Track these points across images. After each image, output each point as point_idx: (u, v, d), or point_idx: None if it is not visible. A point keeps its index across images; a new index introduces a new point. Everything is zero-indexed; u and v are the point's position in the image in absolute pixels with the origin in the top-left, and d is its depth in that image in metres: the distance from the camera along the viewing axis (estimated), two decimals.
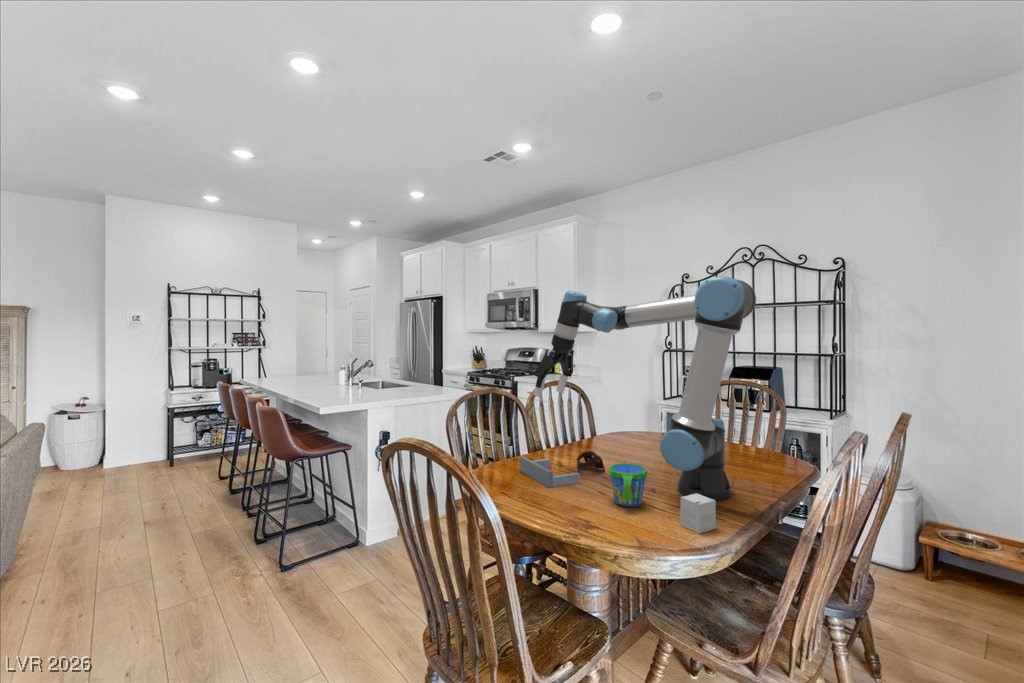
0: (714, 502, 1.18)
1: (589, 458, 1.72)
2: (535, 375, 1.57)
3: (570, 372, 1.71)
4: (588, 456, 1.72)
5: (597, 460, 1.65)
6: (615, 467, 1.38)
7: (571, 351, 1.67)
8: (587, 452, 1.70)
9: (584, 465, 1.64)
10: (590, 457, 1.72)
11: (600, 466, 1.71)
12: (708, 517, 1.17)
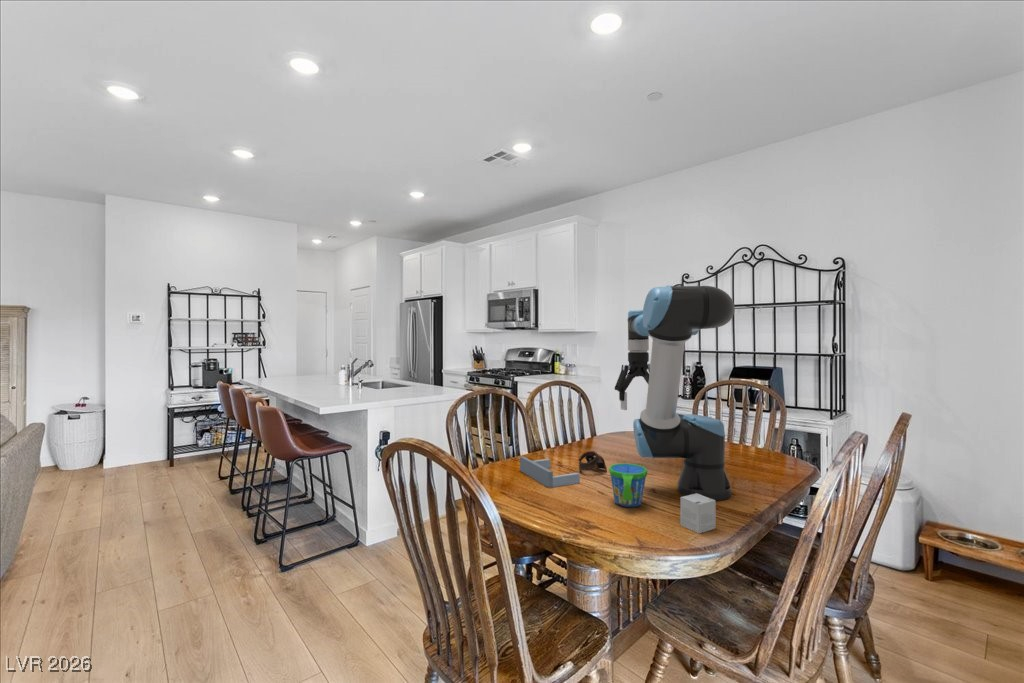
0: (714, 502, 1.18)
1: (591, 458, 1.72)
2: (615, 389, 1.75)
3: None
4: (590, 456, 1.71)
5: (599, 460, 1.65)
6: (615, 467, 1.38)
7: None
8: (589, 452, 1.69)
9: (586, 465, 1.64)
10: (592, 457, 1.72)
11: (602, 466, 1.70)
12: (708, 517, 1.17)
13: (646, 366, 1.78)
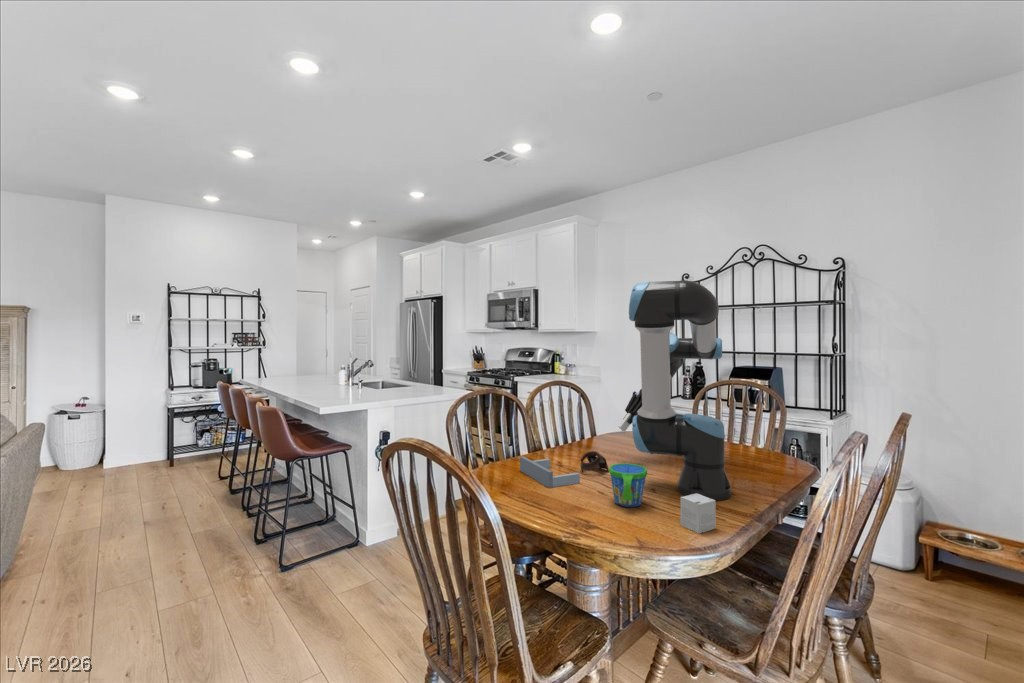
0: (714, 502, 1.18)
1: (593, 458, 1.72)
2: None
3: (636, 412, 1.75)
4: (592, 456, 1.71)
5: (601, 460, 1.65)
6: (615, 467, 1.38)
7: None
8: (591, 452, 1.69)
9: (588, 465, 1.64)
10: (594, 457, 1.72)
11: (604, 466, 1.70)
12: (708, 517, 1.17)
13: None
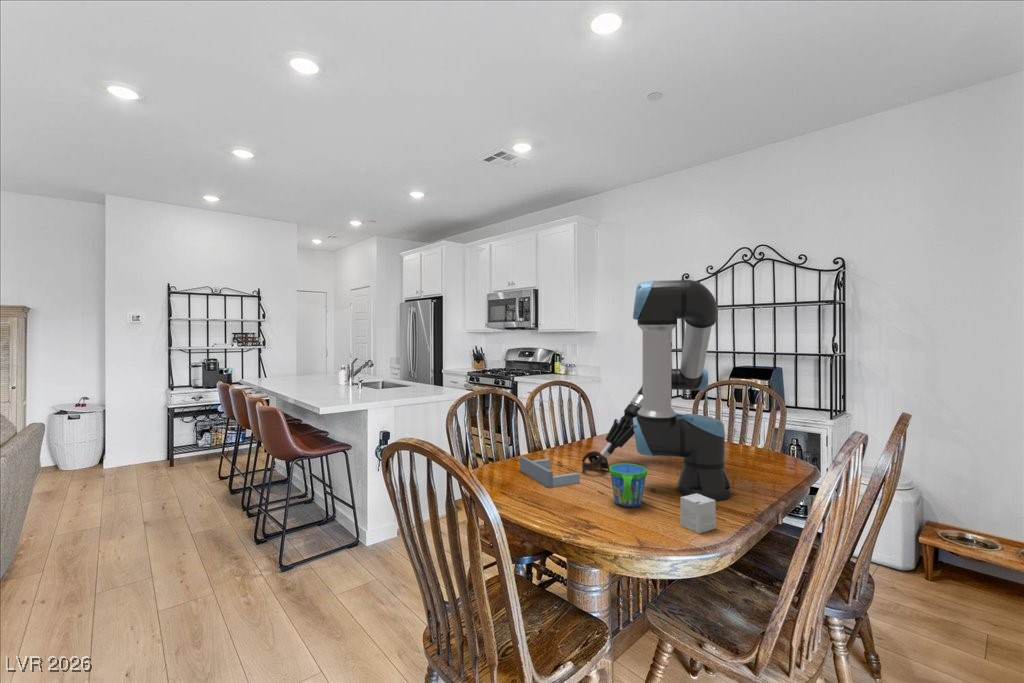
0: (714, 502, 1.18)
1: (594, 458, 1.71)
2: None
3: (616, 442, 1.73)
4: (593, 456, 1.71)
5: (603, 460, 1.64)
6: (615, 467, 1.38)
7: None
8: (592, 452, 1.69)
9: (590, 465, 1.64)
10: (595, 457, 1.71)
11: (605, 466, 1.70)
12: (708, 517, 1.17)
13: (632, 420, 1.75)
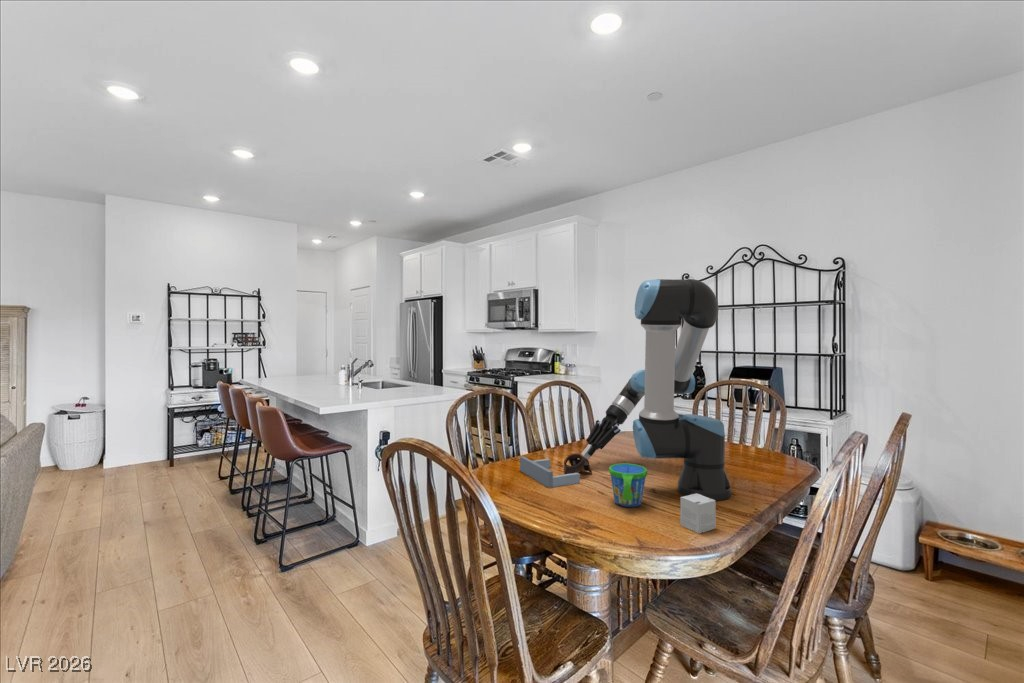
0: (714, 502, 1.18)
1: (574, 461, 1.68)
2: None
3: (596, 443, 1.70)
4: (574, 459, 1.68)
5: (585, 462, 1.62)
6: (615, 467, 1.38)
7: None
8: (574, 455, 1.66)
9: (573, 468, 1.60)
10: (575, 460, 1.68)
11: (586, 468, 1.68)
12: (708, 517, 1.17)
13: (613, 421, 1.72)
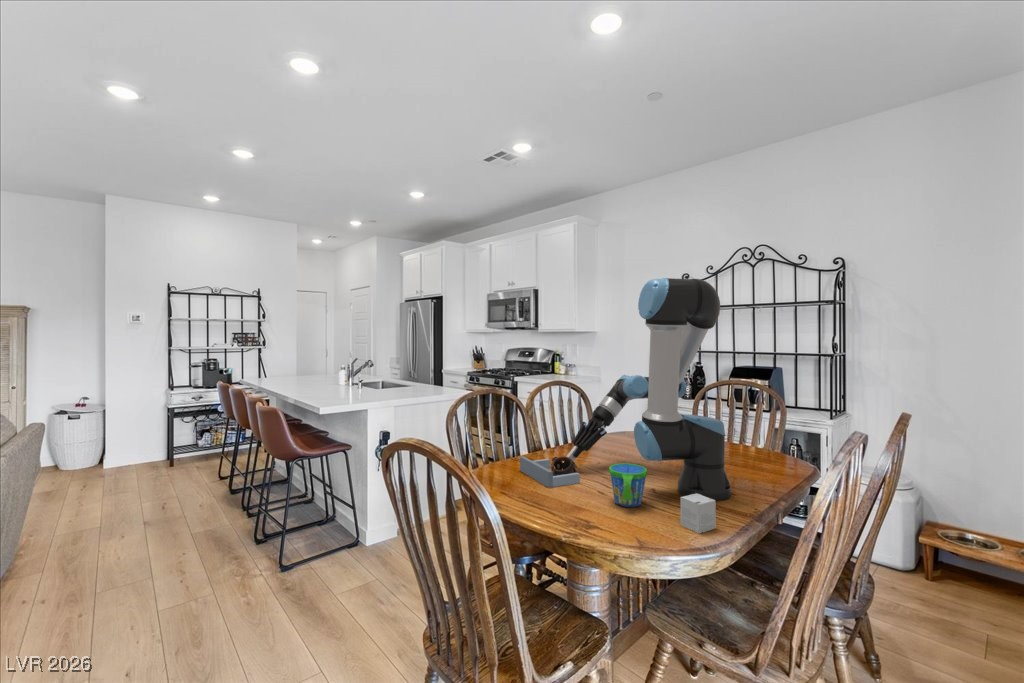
0: (714, 502, 1.18)
1: (559, 464, 1.64)
2: None
3: (582, 445, 1.66)
4: (558, 462, 1.63)
5: (574, 465, 1.58)
6: (615, 467, 1.38)
7: None
8: (560, 458, 1.61)
9: (563, 472, 1.56)
10: (560, 463, 1.64)
11: None
12: (708, 517, 1.17)
13: (600, 423, 1.68)
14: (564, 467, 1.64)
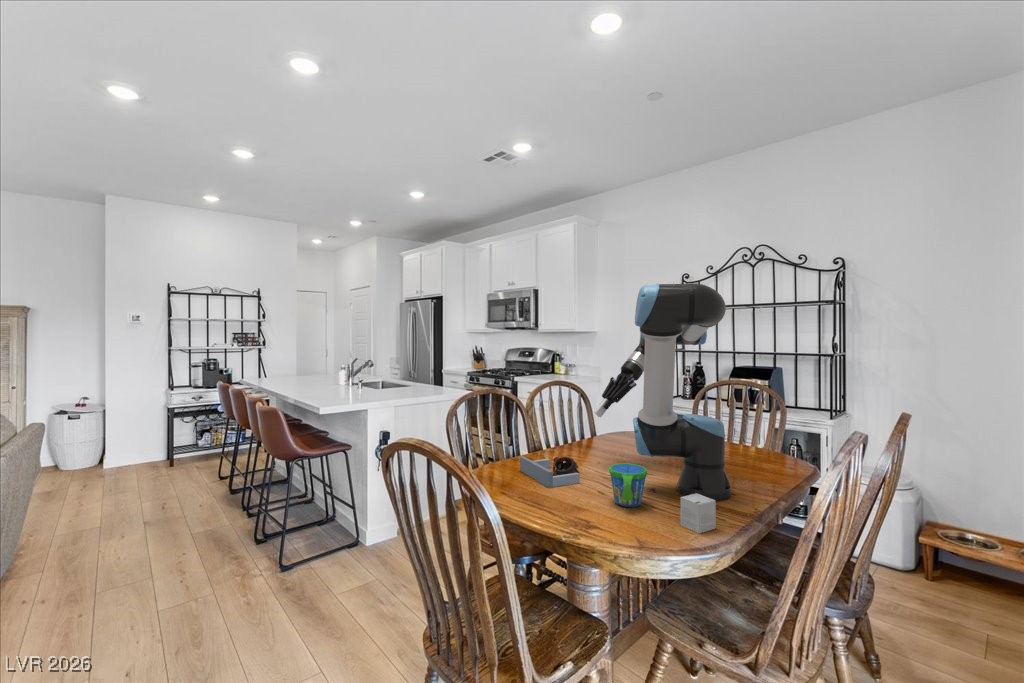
0: (714, 502, 1.18)
1: (560, 464, 1.64)
2: None
3: None
4: (560, 462, 1.64)
5: (576, 465, 1.58)
6: (615, 467, 1.38)
7: None
8: (561, 458, 1.61)
9: (565, 472, 1.56)
10: (561, 463, 1.64)
11: None
12: (708, 517, 1.17)
13: (629, 376, 1.72)
14: (565, 467, 1.65)
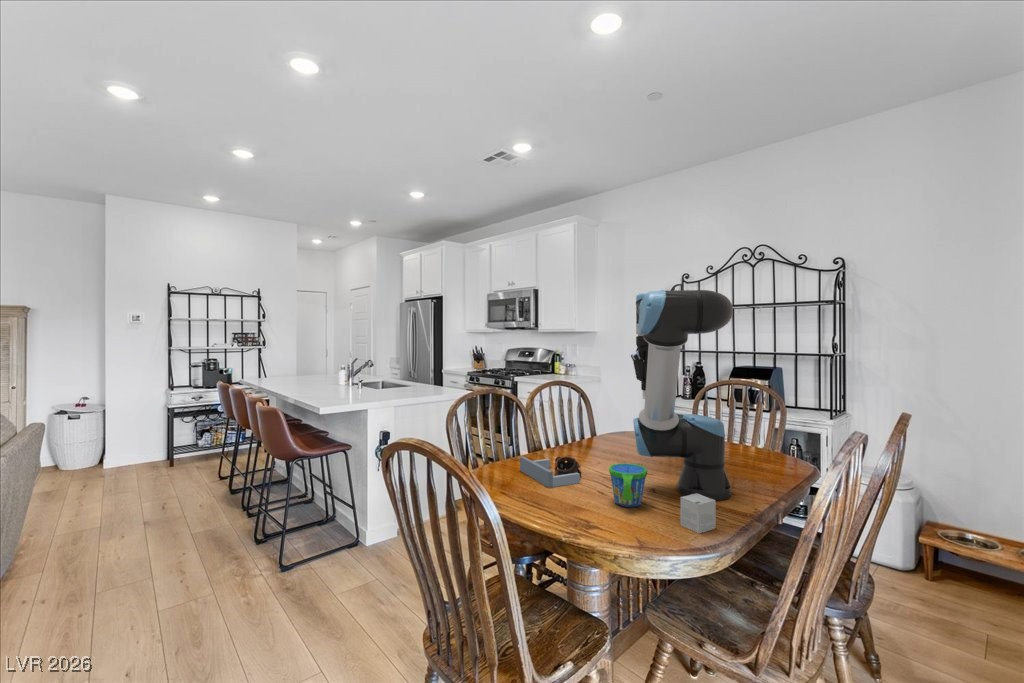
0: (714, 502, 1.18)
1: (562, 464, 1.64)
2: (637, 379, 1.76)
3: None
4: (562, 462, 1.64)
5: (578, 465, 1.59)
6: (615, 467, 1.38)
7: None
8: (563, 458, 1.62)
9: (567, 472, 1.56)
10: (563, 463, 1.64)
11: None
12: (708, 517, 1.17)
13: None
14: (567, 467, 1.65)
